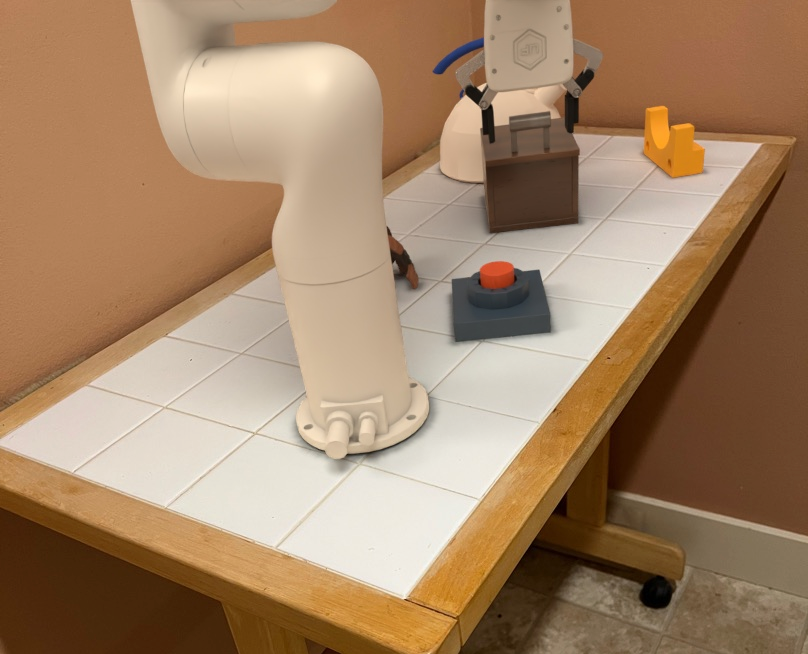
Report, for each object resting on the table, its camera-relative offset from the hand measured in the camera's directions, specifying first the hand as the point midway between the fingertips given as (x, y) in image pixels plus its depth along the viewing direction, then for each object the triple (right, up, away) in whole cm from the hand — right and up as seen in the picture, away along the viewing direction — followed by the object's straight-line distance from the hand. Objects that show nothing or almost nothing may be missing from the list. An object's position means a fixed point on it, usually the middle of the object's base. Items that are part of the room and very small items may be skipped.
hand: (530, 135), depth 101 cm
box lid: (0, +1, +5) cm, 6 cm away
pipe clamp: (+24, +4, +19) cm, 30 cm away
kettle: (0, +8, +29) cm, 30 cm away
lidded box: (+2, -5, +11) cm, 13 cm away
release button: (-6, -22, -14) cm, 26 cm away
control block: (-5, -25, -11) cm, 28 cm away
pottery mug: (-19, -19, -1) cm, 27 cm away
